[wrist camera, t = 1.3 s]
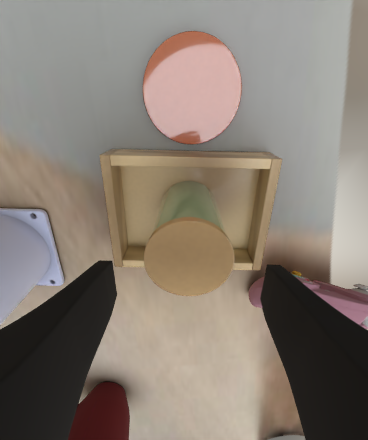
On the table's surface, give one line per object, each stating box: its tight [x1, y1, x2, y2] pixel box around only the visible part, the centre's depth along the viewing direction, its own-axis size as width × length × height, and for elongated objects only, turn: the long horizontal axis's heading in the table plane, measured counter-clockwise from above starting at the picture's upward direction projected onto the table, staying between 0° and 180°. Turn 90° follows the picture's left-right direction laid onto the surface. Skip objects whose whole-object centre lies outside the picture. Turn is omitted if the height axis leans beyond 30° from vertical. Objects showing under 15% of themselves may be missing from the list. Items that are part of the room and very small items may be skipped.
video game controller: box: [249, 271, 368, 329], centre depth 20 cm, size 10×5×7 cm, turn 74°
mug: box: [68, 382, 130, 440], centre depth 26 cm, size 10×8×10 cm
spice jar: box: [144, 181, 234, 296], centre depth 16 cm, size 5×5×8 cm
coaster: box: [143, 31, 242, 144], centre depth 16 cm, size 7×7×1 cm
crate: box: [100, 149, 282, 270], centre depth 18 cm, size 12×9×3 cm
